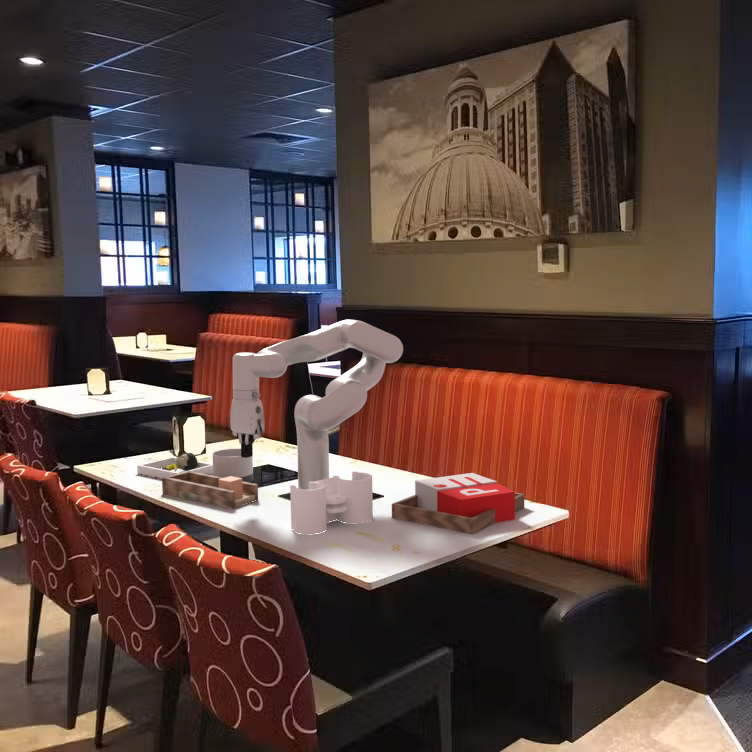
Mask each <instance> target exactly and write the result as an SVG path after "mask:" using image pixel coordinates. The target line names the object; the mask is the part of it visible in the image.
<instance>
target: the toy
mask: <svg viewBox="0 0 752 752" xmlns="http://www.w3.org/2000/svg"><path fill="white" fill-rule="evenodd" d="M197 461H198V459H197V457H196V455H195V454H194V453H192V452H183V454H182V455H180V456H177V459H176V464H171V465H168V466H166V465H165V466H166V467H164V468H162V469H163V470H168V471H172V470H173V471H174V472H177V470H178V468H180V470H182V471H183V472H185V471H189V470H193V469H195V468H196V467H197Z"/></svg>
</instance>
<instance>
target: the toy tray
mask: <svg viewBox="0 0 752 752" xmlns="http://www.w3.org/2000/svg"><path fill="white" fill-rule="evenodd" d="M177 458H178V456H171V457H168V458H163V459H158V460H155V461H150V462H145V463H141V464H137V466H136V469H137V473H138V475H141V474H143V475H142V476H145V475H148V476H147V477H150V476H153V477H152V478H155V477H157V478H156V479H160V478H161V480H162V478H163V477H167V476H171V475H175V474H179V473H183V472H187V471H181V472H178V471H176V472H175V471H174V470H173V471H172V470H171V471H168V470H163V469H161V468H164V467H166V466H168V465H171V464H176V459H177ZM165 465H166V466H165ZM189 471H192V472H197V473H202V474H207V475H209V474H210V475H213V463H210V462H205V461H204V462H203V461H198V460H197V467H196V468H195V469H193V470H189Z"/></svg>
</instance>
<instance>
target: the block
mask: <svg viewBox="0 0 752 752" xmlns="http://www.w3.org/2000/svg"><path fill="white" fill-rule="evenodd" d="M218 481H219V488H222V489H227V490H232V491H235V497H236V496H239V495H243V487H242V478H238V477H233V476H229V477H226V478H222V479H218Z"/></svg>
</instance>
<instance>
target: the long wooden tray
mask: <svg viewBox="0 0 752 752" xmlns="http://www.w3.org/2000/svg"><path fill="white" fill-rule="evenodd" d="M182 472H183V473H181V472H178V473H179V474H175V475H171V476H167V477H163V478H162V479H161V488H162V494H163V495H169V496H173V497H178V498H183V499H186V500H192V501H195V502H199V501H200V502H199V503H203V502H204V504H207V505H214V506H218V507H222V508H227V509H230V508H231V510H233V509H235V507H236V508H239V507H242V506H244V505H243V504H245V505H247V504H246V503H249V502H252V501H255V500H258V501H259V485H258V483H253V482H249V483H248V482H243V481H242V487H243V495H239V496H236V497H235V491H232V490H227V489H222V488H219V481H218V479H222V478H223V477H218V476H213V474H210V475H207V474H202V473H197V472H192V471H187V472H185V471H182ZM255 502H256V501H255ZM252 503H253V502H252ZM249 504H250V503H249ZM241 505H242V506H241ZM238 506H239V507H238Z"/></svg>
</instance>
